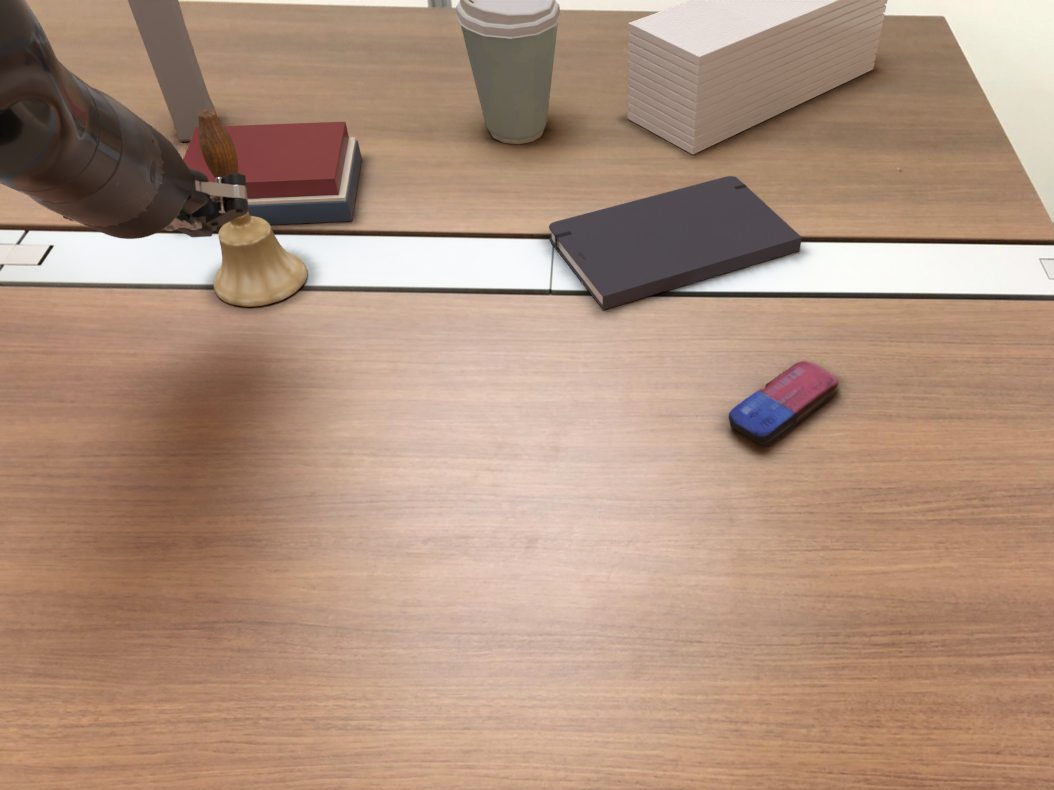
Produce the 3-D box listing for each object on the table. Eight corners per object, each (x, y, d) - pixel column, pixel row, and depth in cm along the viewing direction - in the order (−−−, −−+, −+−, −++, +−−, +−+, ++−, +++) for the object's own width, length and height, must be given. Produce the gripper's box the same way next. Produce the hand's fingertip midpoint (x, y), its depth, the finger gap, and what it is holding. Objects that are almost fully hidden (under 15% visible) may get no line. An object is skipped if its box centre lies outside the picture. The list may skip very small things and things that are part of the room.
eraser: (805, 366, 79) (809, 350, 78) (844, 389, 77) (849, 373, 76) (718, 429, 74) (721, 412, 72) (758, 456, 72) (761, 439, 70)
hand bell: (219, 258, 88) (156, 93, 76) (309, 249, 89) (262, 86, 77) (209, 312, 82) (140, 143, 70) (305, 302, 84) (254, 135, 72)
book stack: (352, 221, 92) (342, 181, 89) (184, 229, 91) (168, 188, 88) (362, 159, 100) (353, 120, 97) (208, 165, 99) (194, 125, 95)
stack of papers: (808, 41, 122) (821, -48, 114) (873, 69, 117) (892, -22, 109) (627, 119, 107) (628, 22, 99) (692, 155, 102) (699, 56, 94)
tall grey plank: (218, 117, 105) (132, -139, 87) (216, 139, 102) (127, -122, 84) (183, 121, 105) (89, -136, 86) (180, 143, 102) (83, -119, 83)
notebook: (602, 310, 84) (800, 250, 90) (602, 296, 82) (802, 237, 89) (546, 237, 91) (732, 187, 98) (545, 223, 90) (734, 173, 97)
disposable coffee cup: (531, 100, 110) (522, -37, 99) (584, 137, 104) (581, -4, 93) (453, 125, 105) (434, -15, 94) (503, 166, 100) (489, 22, 89)
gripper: (203, 95, 56) (283, 172, 74) (-28, 102, 55) (109, 178, 72) (215, 220, 57) (292, 268, 74) (-14, 230, 56) (119, 276, 73)
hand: (201, 223), depth 73 cm, fingers closed
